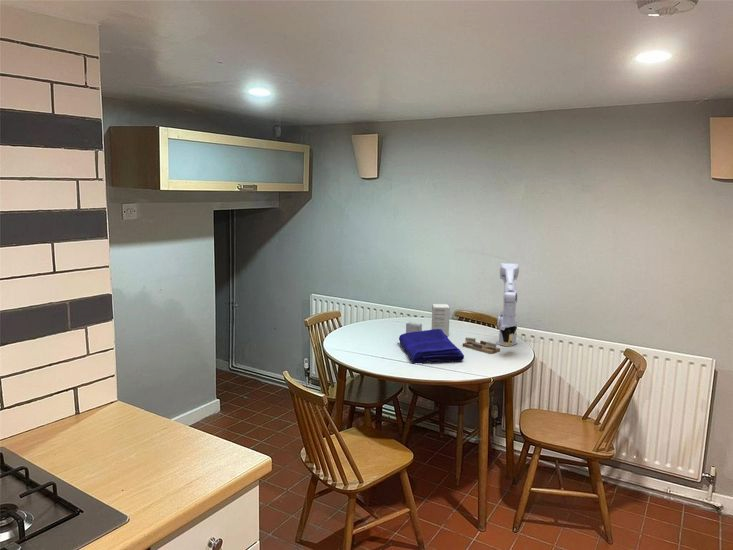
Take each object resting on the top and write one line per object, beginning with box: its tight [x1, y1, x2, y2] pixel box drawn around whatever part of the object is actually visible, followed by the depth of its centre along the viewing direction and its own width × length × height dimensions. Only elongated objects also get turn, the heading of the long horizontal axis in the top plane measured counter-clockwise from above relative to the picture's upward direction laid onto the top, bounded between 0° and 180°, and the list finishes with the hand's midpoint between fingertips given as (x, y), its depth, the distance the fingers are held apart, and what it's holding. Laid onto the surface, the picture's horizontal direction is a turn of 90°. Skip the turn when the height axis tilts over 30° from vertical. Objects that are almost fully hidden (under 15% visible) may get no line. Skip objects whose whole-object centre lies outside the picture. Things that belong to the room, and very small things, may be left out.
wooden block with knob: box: [502, 333, 514, 347], centre depth 274 cm, size 4×4×6 cm
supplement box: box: [431, 303, 451, 337], centre depth 309 cm, size 10×9×17 cm
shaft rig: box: [462, 336, 501, 355], centre depth 283 cm, size 8×18×4 cm, turn 43°
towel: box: [398, 329, 465, 364], centre depth 276 cm, size 26×36×9 cm
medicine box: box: [405, 321, 423, 333], centre depth 300 cm, size 8×4×9 cm, turn 59°
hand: (507, 341), depth 275 cm, fingers closed on wooden block with knob, 4 cm apart
